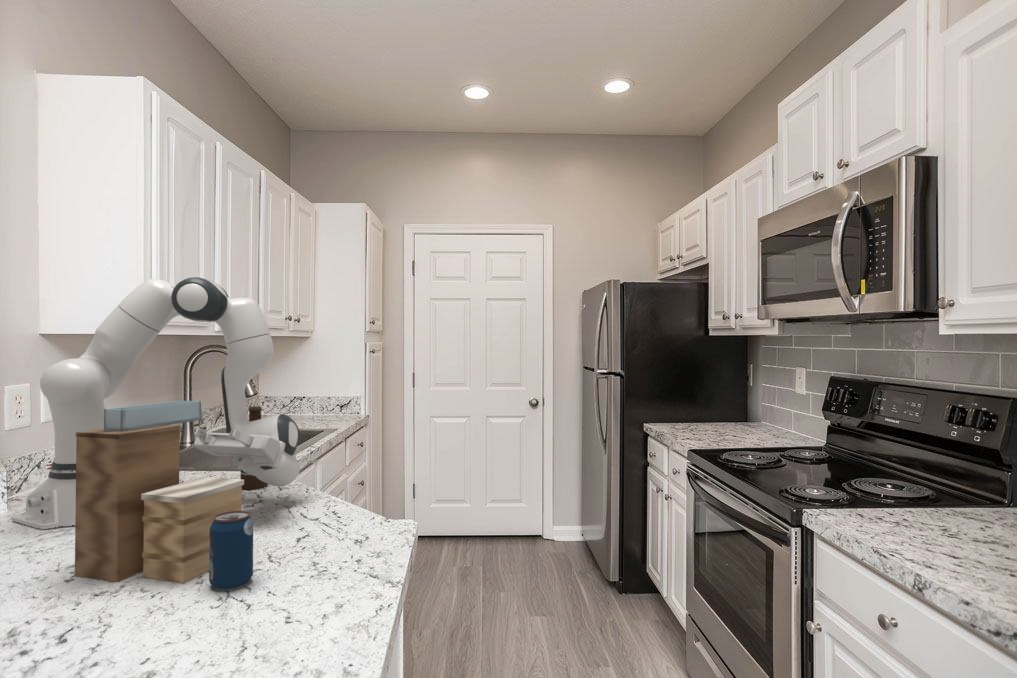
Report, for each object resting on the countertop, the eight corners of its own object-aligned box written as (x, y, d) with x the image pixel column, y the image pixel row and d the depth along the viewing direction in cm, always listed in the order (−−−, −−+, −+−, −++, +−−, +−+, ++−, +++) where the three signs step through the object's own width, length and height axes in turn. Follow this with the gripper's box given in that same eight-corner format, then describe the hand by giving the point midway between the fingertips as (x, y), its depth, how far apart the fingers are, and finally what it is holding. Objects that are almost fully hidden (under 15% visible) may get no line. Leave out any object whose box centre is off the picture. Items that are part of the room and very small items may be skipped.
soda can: (261, 579, 102) (262, 511, 102) (231, 594, 96) (231, 522, 96) (231, 574, 104) (231, 508, 105) (199, 589, 98) (200, 518, 98)
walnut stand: (73, 575, 104) (75, 432, 104) (138, 551, 116) (139, 423, 117) (117, 582, 101) (119, 434, 101) (179, 556, 113) (180, 425, 114)
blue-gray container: (103, 430, 106) (104, 409, 106) (183, 419, 124) (184, 400, 124) (122, 431, 105) (122, 409, 105) (200, 419, 122) (200, 401, 122)
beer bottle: (258, 491, 166) (258, 408, 166) (234, 489, 167) (235, 407, 168) (274, 484, 174) (274, 405, 174) (251, 483, 175) (251, 405, 176)
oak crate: (140, 577, 103) (141, 493, 103) (204, 550, 117) (205, 476, 117) (183, 583, 100) (183, 497, 100) (243, 555, 114) (244, 479, 114)
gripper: (222, 439, 145) (184, 417, 133) (291, 443, 139) (257, 421, 128) (212, 463, 142) (172, 443, 130) (282, 468, 136) (246, 447, 125)
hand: (215, 432), depth 129 cm, fingers open, 8 cm apart
